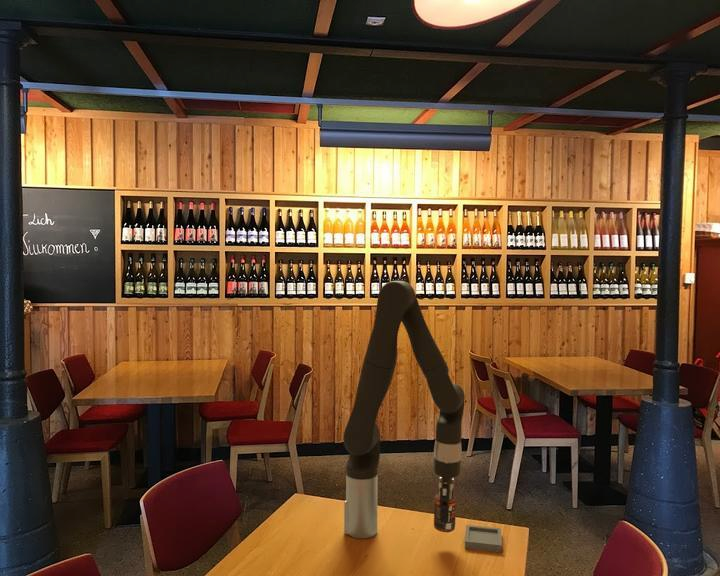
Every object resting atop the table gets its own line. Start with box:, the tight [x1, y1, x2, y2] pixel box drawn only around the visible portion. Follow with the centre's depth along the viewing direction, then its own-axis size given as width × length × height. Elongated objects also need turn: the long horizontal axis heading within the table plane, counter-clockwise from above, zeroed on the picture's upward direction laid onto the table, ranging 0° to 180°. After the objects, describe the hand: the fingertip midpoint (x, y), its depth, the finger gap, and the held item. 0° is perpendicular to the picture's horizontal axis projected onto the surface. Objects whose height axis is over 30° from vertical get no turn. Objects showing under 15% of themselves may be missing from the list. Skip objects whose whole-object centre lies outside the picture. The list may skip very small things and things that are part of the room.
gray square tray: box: [464, 524, 503, 553], centre depth 158 cm, size 10×10×2 cm
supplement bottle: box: [433, 488, 457, 533], centre depth 155 cm, size 6×6×11 cm
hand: (444, 515), depth 155 cm, fingers closed on supplement bottle, 6 cm apart
